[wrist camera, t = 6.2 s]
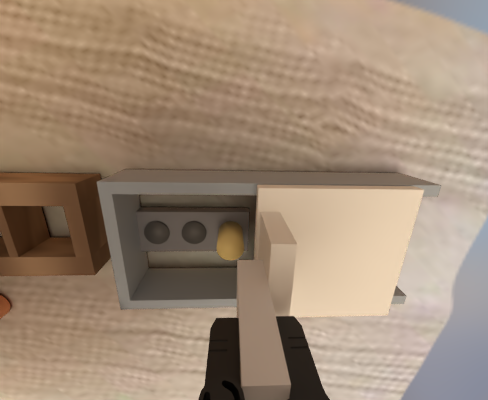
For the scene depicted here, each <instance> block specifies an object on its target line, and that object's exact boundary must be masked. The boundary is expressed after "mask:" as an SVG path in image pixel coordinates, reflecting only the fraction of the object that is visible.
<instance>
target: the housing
mask: <svg viewBox="0 0 488 400" xmlns="http://www.w3.org/2000/svg"><path fill="white" fill-rule="evenodd" d="M257 185H333V186H415V187H418V188H421V189H424V193H423V196H422V197H438V195H439V191H440V188H441V185H438V184H435V183H431V182H428V181H425V180H421V179H418V178H415V177H411V176H408V175H405V174H401V173H360V172H289V171H218V170H147V169H125V170H122V171H120V172H118V173H115V174H113V175H111V176H108V177H106V178H104V179H102V180H99V181H97V187H98V192H99V198H100V203H101V208H102V213H103V219H104V224H105V229H106V234H107V240H108V245H109V250H110V255H111V261H112V266H113V271H114V276H115V282H116V287H117V292H118V297H119V303H120V308H121V309H168V308H217V307H237V299H236V298H237V268H149V267H148V260H147V252H146V251H217V253H218V254H219V256H220V257H221V258H223V259H225V260H235V259H237V258H239V257H240V256H241V255H242V254H243V252H244V251H248V231H249V209H248V208H174V207H141V206H140V199H139V194H153V195H257ZM405 299H406V295H405V294H404V293H403V292H402V291H401V290H400V289H399V288H398V287H397V286H396V288H395V291H394V295H393V298H392V302H391V304H404V302H405Z"/></svg>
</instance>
